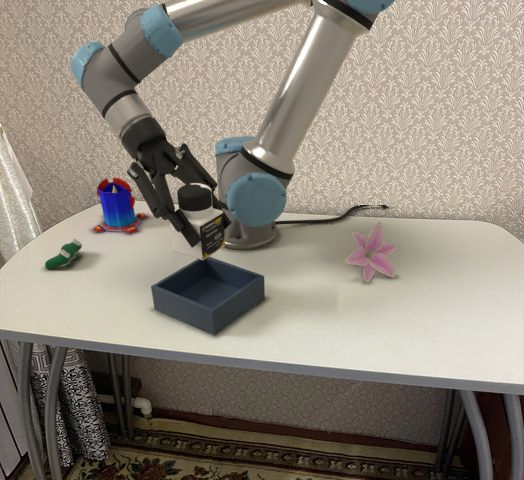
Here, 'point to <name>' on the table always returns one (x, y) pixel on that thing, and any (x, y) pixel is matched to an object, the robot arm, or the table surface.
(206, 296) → the tote
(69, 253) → the gaming controller
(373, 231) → the lily
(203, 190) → the medicine bottle
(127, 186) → the fantasy tower
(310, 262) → the table surface
